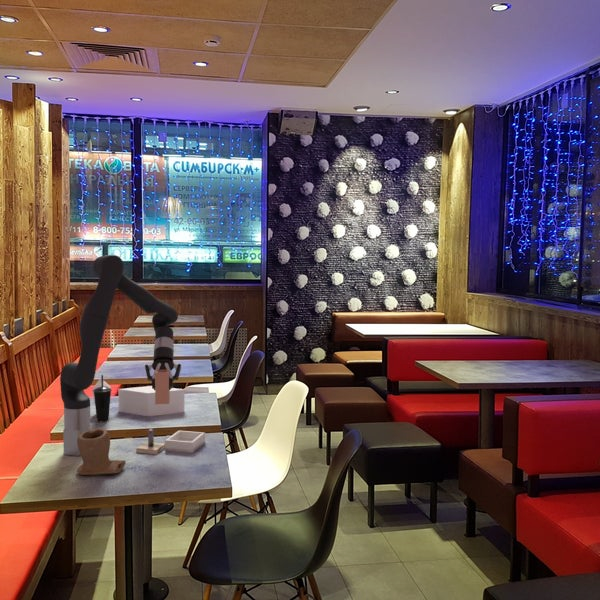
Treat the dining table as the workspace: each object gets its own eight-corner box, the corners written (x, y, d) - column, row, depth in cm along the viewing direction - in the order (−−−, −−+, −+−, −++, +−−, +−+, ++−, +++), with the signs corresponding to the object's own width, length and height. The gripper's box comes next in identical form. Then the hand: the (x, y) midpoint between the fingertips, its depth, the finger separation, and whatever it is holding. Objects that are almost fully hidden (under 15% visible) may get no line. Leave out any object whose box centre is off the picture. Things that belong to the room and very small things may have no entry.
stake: (153, 447, 244) (153, 430, 244) (147, 447, 244) (147, 430, 244) (153, 444, 247) (153, 428, 246) (148, 444, 247) (148, 428, 246)
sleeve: (169, 403, 244) (168, 372, 243) (155, 404, 243) (154, 372, 242) (169, 400, 249) (169, 369, 248) (156, 400, 248) (155, 369, 247)
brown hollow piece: (71, 480, 214) (71, 435, 213) (81, 467, 226) (81, 425, 225) (118, 479, 215) (118, 435, 214) (126, 467, 227) (125, 425, 226)
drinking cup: (115, 419, 285) (115, 374, 283) (102, 423, 278) (101, 377, 277) (103, 417, 289) (102, 372, 287) (89, 421, 282) (89, 375, 280)
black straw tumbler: (112, 415, 292) (111, 380, 291) (92, 416, 289) (92, 381, 288) (110, 410, 300) (110, 376, 299) (91, 412, 297) (91, 377, 295)
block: (122, 407, 306) (122, 385, 305) (186, 408, 307) (186, 385, 306) (114, 416, 291) (114, 392, 290) (182, 416, 292) (181, 393, 291)
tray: (192, 453, 243) (192, 442, 242) (165, 450, 245) (165, 440, 245) (205, 442, 255) (205, 432, 255) (178, 440, 258) (178, 430, 257)
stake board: (156, 454, 241) (156, 450, 241) (136, 452, 243) (136, 448, 243) (165, 447, 249) (165, 443, 249) (145, 445, 250) (145, 441, 250)
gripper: (144, 346, 250) (141, 384, 240) (182, 345, 252) (181, 383, 242) (145, 357, 256) (143, 394, 245) (182, 356, 258) (182, 393, 248)
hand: (162, 388), depth 244 cm, fingers closed on sleeve, 5 cm apart
